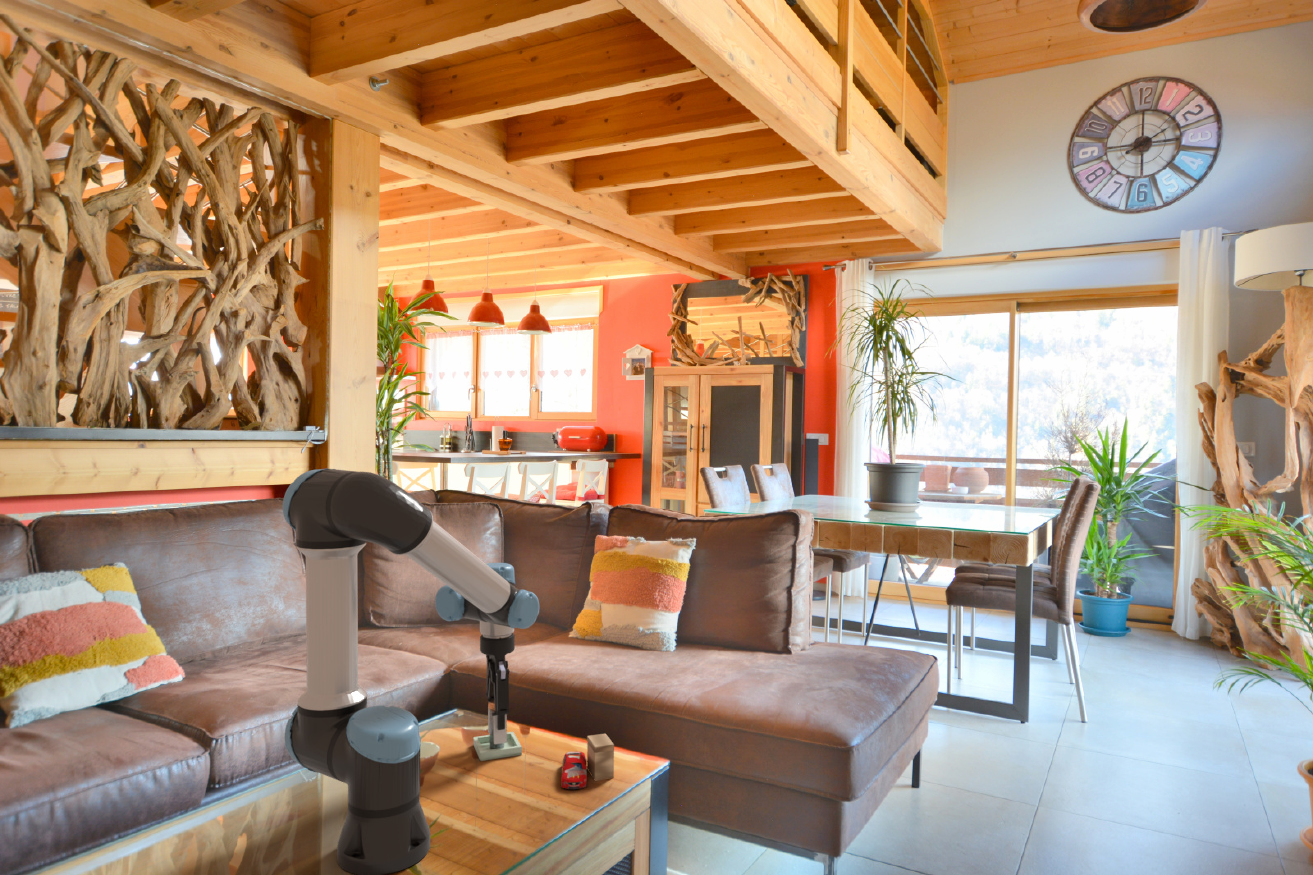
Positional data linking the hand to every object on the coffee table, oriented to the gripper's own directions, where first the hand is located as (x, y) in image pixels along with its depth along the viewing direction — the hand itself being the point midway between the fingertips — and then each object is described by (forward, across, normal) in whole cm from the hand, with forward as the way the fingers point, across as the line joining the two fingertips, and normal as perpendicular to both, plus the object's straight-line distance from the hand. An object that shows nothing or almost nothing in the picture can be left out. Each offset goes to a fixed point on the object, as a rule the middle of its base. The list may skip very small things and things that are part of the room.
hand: (497, 737), depth 183 cm
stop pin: (+2, 0, 0) cm, 2 cm away
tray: (+3, 0, 0) cm, 3 cm away
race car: (+3, -19, -12) cm, 23 cm away
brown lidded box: (+3, -19, -18) cm, 26 cm away
